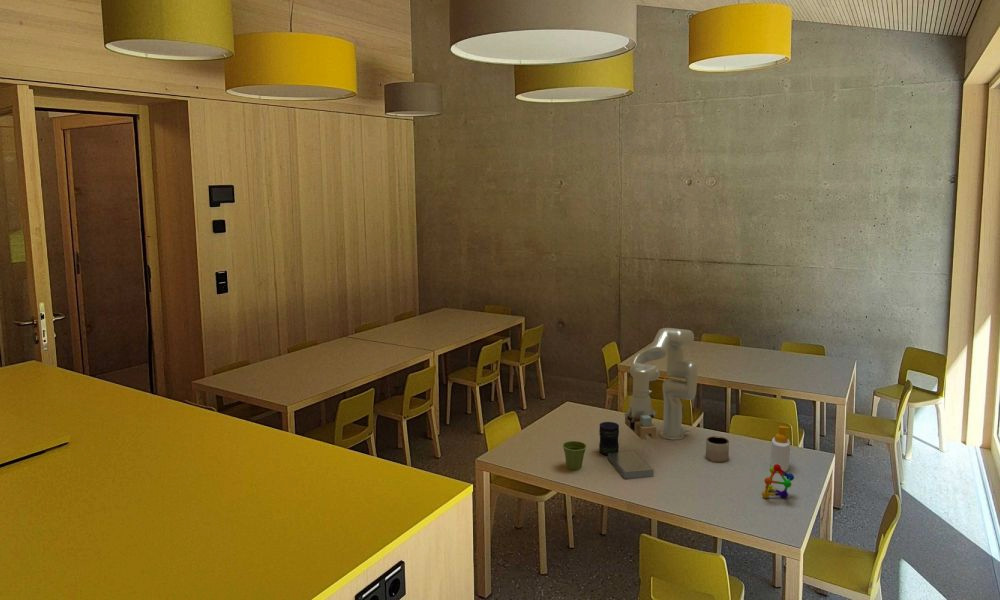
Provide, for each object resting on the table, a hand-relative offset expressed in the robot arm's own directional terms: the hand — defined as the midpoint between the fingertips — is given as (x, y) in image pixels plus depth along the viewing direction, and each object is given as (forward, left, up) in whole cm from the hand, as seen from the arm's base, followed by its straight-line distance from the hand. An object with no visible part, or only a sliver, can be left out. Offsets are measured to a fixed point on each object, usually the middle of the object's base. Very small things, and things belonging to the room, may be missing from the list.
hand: (640, 428), depth 334 cm
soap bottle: (-64, +18, -18) cm, 69 cm away
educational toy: (-46, +45, -18) cm, 67 cm away
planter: (-40, +2, -18) cm, 44 cm away
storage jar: (+10, -16, -18) cm, 26 cm away
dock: (+6, +3, -18) cm, 19 cm away
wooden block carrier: (0, 0, -1) cm, 1 cm away
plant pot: (+32, -3, -18) cm, 37 cm away
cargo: (0, +7, +4) cm, 8 cm away
